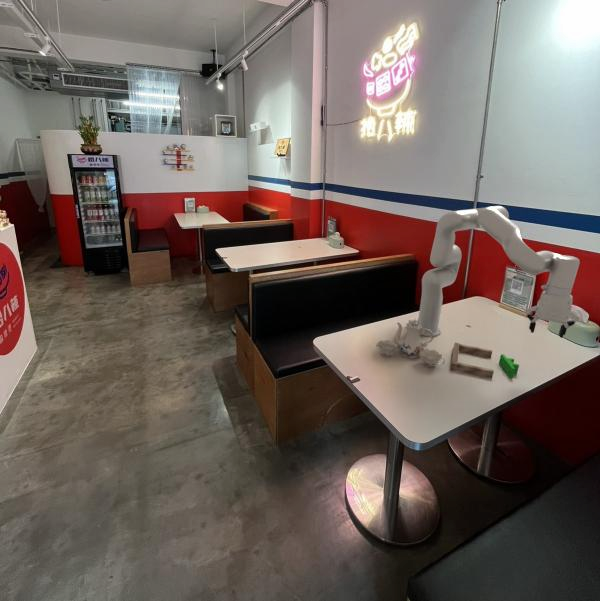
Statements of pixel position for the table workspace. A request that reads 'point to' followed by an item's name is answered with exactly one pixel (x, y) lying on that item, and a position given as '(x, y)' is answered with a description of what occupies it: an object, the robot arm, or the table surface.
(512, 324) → the table surface
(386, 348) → the chinaware
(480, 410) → the table surface
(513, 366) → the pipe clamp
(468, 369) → the frame
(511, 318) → the table surface
